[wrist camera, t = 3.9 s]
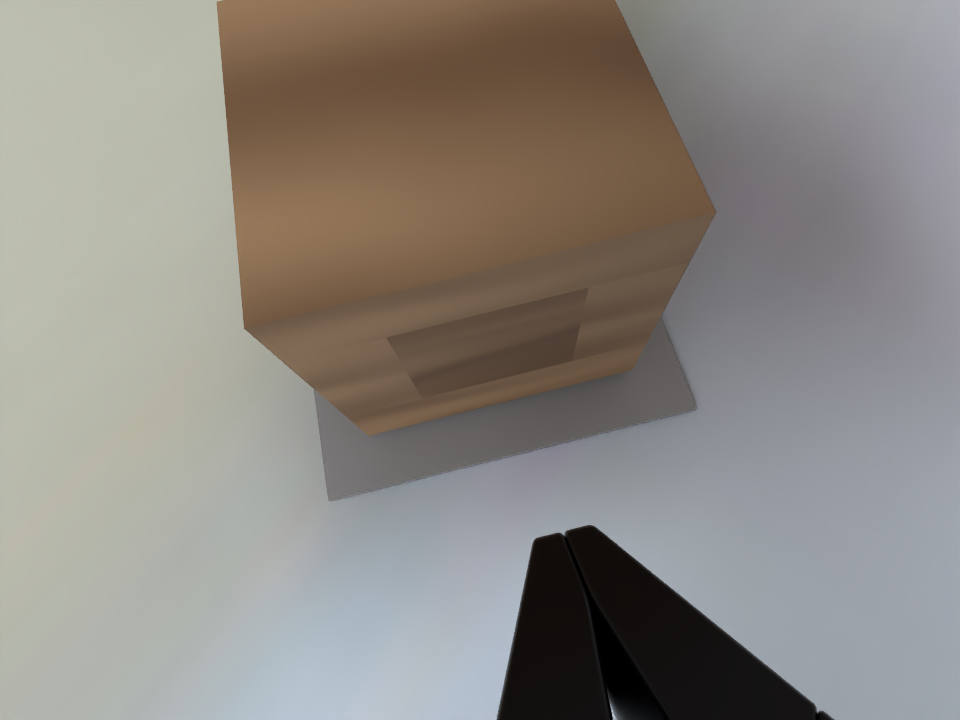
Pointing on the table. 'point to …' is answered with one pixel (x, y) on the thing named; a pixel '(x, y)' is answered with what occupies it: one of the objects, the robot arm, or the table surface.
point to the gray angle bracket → (502, 425)
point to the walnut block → (451, 197)
